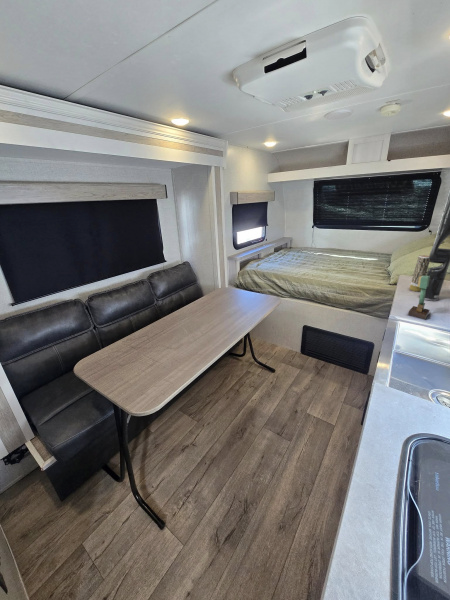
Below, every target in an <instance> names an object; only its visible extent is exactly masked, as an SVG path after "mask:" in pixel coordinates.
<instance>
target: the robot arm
mask: <svg viewBox="0 0 450 600" xmlns="http://www.w3.org/2000/svg"><path fill="white" fill-rule="evenodd" d="M448 237H450V188H449V189H448V194H447V198H446V202H445V206H444V208H443V211H442V215H441V218H440V221H439V225H438V228H437V232H436V237H435V239H434V241H433V244H432V247H431V250H430V253H429V255H428V256H429V263H431V264H440V265H438V266H433V267H428V269H427V272H426V276H430V279H429V285H428V287H427V288H426V293H425V299H424V301H429V302H430V301H431V302H435V301H438V300H439V297H440V294H441V290H442V288H443V285H444V282H445V279H446V276H447V272H448V269H449V267H450V248H442V247H441V248H440V246H441V244H442V243H443V242H444V241H446V239H447V238H448Z"/></svg>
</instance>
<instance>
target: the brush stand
mask: <svg viewBox="0 0 450 600" xmlns="http://www.w3.org/2000/svg"><path fill="white" fill-rule="evenodd" d="M425 305H426V303H425V302H424V305H420V304H419V303H418V304H417V306H414V305H413V306H412V307H411V308H409V311H408V314H407V316H410V317H414V318H417V319H420V320H427V317H428V315H430V312H431V311H430V310H431V309H429V308H425Z"/></svg>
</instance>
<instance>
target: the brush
mask: <svg viewBox="0 0 450 600" xmlns="http://www.w3.org/2000/svg"><path fill="white" fill-rule="evenodd" d="M429 279H430V276H420V277H419V280H418V286H417V287H419V288H421V291H419V292H420V293H419V299H418V304H420V305H424V303H425V293H426V288H427V287H428V285H429Z"/></svg>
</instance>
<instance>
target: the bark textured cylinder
mask: <svg viewBox="0 0 450 600" xmlns="http://www.w3.org/2000/svg"><path fill="white" fill-rule="evenodd" d="M429 265H430V262H429V255H427V254H426V255H425V254H420V255H418V257H417V260H416V264H415V267H414V271H413V275H412V278H411V281H410V285H409V291H413V292H421V288H419V287H417V286H418V280H419V277H420V276H426V275H427V273H426V272H428V269H429Z"/></svg>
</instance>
